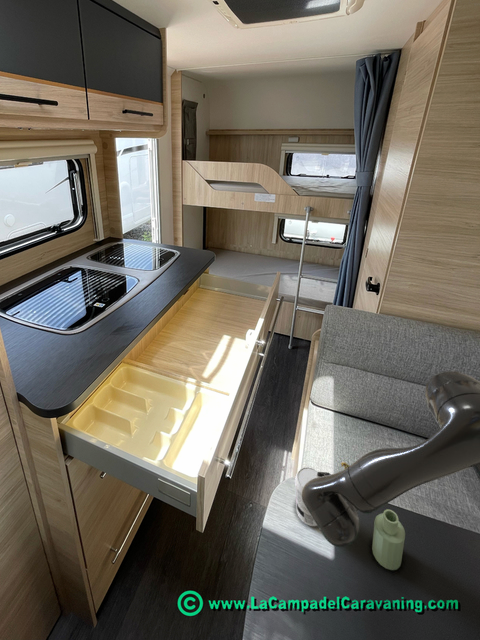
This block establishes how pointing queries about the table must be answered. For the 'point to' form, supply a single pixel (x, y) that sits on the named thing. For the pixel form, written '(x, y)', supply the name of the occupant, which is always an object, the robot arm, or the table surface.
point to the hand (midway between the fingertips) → (349, 484)
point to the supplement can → (300, 481)
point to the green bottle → (388, 540)
